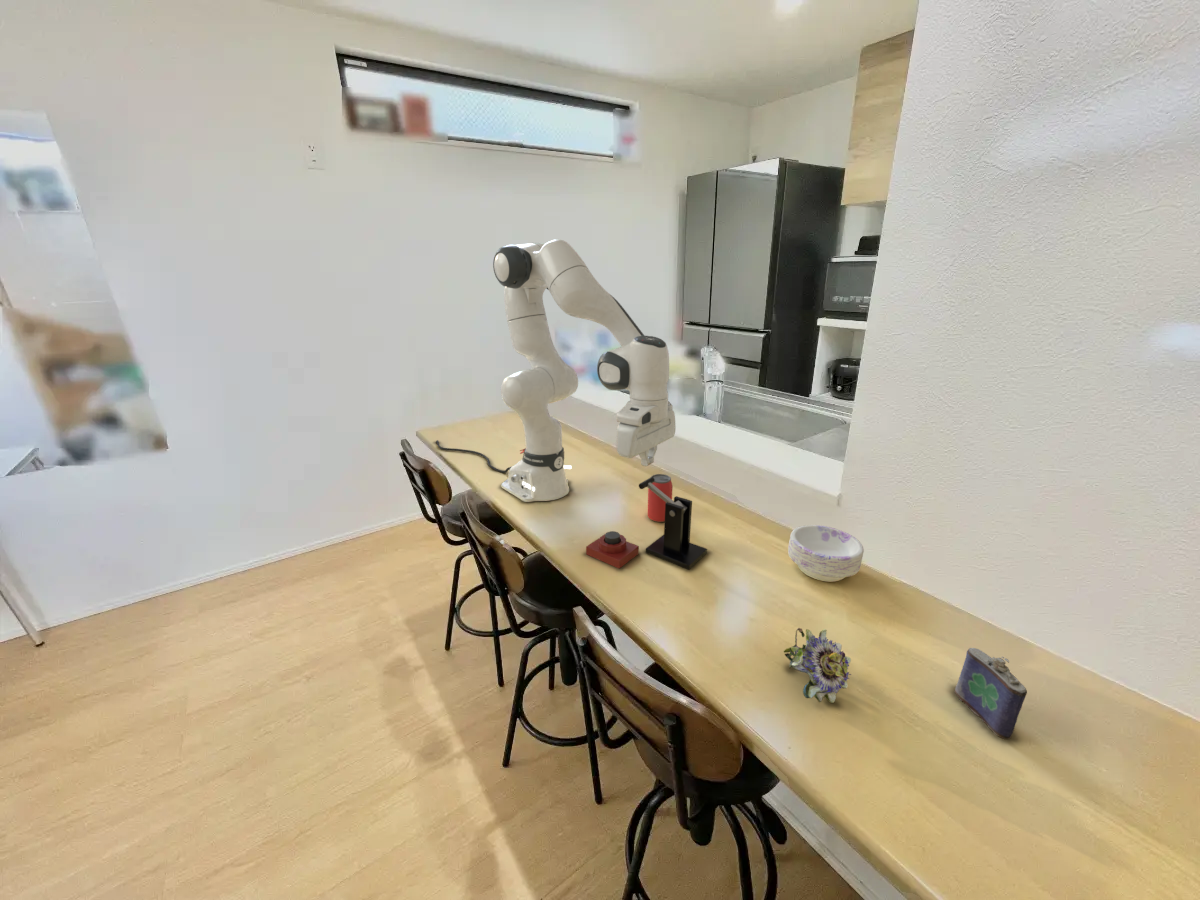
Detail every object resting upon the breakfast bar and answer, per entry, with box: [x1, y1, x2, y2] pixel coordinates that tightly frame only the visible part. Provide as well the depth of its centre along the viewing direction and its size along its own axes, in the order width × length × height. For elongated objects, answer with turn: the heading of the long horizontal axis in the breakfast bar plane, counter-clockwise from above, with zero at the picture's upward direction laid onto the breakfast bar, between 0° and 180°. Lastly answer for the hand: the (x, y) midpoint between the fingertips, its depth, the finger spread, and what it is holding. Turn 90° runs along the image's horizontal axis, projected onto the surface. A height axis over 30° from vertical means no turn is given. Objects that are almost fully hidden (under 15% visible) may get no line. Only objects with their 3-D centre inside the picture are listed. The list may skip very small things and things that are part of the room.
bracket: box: [645, 496, 708, 570], centre depth 118 cm, size 12×9×14 cm
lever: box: [638, 476, 687, 514], centre depth 118 cm, size 12×5×2 cm, turn 51°
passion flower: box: [783, 627, 852, 704], centre depth 82 cm, size 11×11×12 cm
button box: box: [585, 533, 640, 569], centre depth 119 cm, size 10×8×4 cm
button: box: [604, 530, 621, 545], centre depth 119 cm, size 4×4×2 cm
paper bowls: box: [787, 524, 865, 583], centre depth 112 cm, size 15×15×8 cm
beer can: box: [647, 473, 674, 523], centre depth 135 cm, size 7×7×12 cm
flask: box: [954, 647, 1028, 740], centre depth 75 cm, size 9×3×11 cm, turn 8°
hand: (647, 464), depth 118 cm, fingers closed
